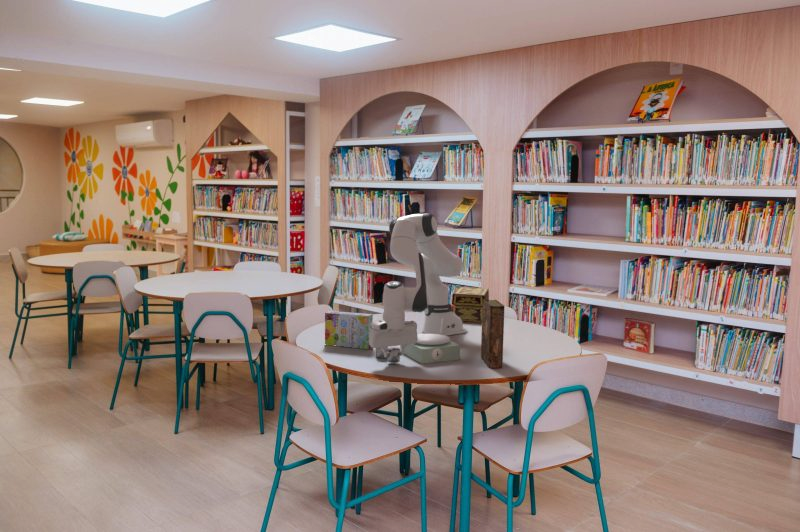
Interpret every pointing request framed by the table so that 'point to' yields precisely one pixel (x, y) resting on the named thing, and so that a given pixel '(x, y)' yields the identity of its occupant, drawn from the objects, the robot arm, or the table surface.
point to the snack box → (348, 329)
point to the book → (492, 333)
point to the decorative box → (469, 303)
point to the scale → (432, 349)
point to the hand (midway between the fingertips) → (393, 356)
